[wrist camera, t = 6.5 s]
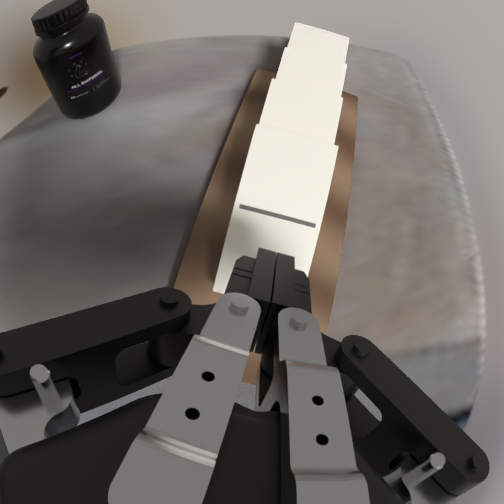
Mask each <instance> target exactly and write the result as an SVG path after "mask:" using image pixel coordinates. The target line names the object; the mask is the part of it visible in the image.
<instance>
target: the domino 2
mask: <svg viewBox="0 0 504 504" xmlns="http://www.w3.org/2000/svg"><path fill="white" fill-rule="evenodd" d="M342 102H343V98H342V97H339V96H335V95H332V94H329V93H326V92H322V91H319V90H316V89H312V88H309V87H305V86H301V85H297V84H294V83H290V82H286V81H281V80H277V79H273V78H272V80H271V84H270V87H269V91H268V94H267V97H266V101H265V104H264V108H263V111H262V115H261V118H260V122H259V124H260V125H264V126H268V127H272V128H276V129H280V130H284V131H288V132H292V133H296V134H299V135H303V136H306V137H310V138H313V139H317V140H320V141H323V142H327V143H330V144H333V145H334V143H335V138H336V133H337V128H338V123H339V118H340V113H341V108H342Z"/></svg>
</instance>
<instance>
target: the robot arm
mask: <svg viewBox="0 0 504 504" xmlns="http://www.w3.org/2000/svg"><path fill="white" fill-rule="evenodd" d="M143 342H144V343H143ZM140 343H141V344H140ZM138 344H139V345H138ZM135 345H136V346H135ZM255 345H256V347H255ZM132 346H133V347H132ZM254 347H255V353H257V354H262V355H261V361H260V364H259V366H258V369H257V375H256V395H255V411H253V410H250V409H248V408H246V407H244V406H242V405H240V404H237V403H235V399H236V396H237V392H238V389H239V386H240V383H241V379H242V376H243V373H244V370H245V366H246V363H247V360H248V356H249V353H250V352H253V350H254ZM127 348H128V349H127ZM124 349H125V350H124ZM170 376H172V377H171V379H170V381H169V383H168V385H167V387H166V388H165V390H164V392H163V394H154V395H149V396H146V397H142V398H139V399H137V400H134V401H132V402H130V403H128V404H126V405H124V406H122V407H119V408H117V409H115V410H113V411H111V412H108V413H106V414H104V415H102V416H99V417H97V418H95V419H93V420H90V421H88V422H86V423H83V424H81V425H78V426H76V425H77V424H78V422H79V419H80V414H81V413H83V412H86V411H89V410H91V409H94V408H96V407H99V406H102V405H104V404H107V403H109V402H112V401H114V400H117V399H119V398H121V397H124V396H126V395H129V394H131V393H133V392H136V391H138V390H140V389H143V388H145V387H147V386H150V385H152V384H154V383H156V382H159V381H161V380H163V379H165V378H168V377H170ZM358 389H360V390H361V391H362V392H363V393H364V394H365V395H366V396H367V397H368V398H369V399H370V400H371V401H372V402H373V403H374V404H375V405H376V406H377V408H378V409H379V410H380V411H381V414H382V421H381V422H380V421H378V420H377V419H376V418H375V417H374V416H373V415H372V414H371V413H370V412H369V411H368V410H367V408H366V407H365V406H364V405H363V404H362V403H361V402H360V401H359V400H358V399H357V398H356V397H355V396H354V394H355V393H356V391H357V390H358ZM0 428H1V431H2V434H3V437H4V440H5V443H6V446H7V449H8V451H9V455H8V456H7V457H6V458H5V459H4V461H3V462H2V463H1V465H0V504H453V503H454V501H455V500H456V498H457V497H458V496H460V495H461V494H463V493H465V492H467V491H468V490H470V489H471V488H473V487H475V486H476V485H478V484H479V483H481V482H482V481H484V479H486V477H487V476H488V473H489V461H488V458H487V456H486V454H485V453H484V451H483V450H482V449H481V448H480V447H479V446H478V445H477V444H476V443H475V442H474V441H473V440H472V439H471V438H470V437H469V436H468V435H467V434H466V433H465V432H464V431H463V430H462V429H461V428H460V427H459V426H458V425H457V424H456V423H455V422H454V421H453V420H452V419H451V418H450V417H449V416H448V415H447V414H445V413H444V412H443V411H442V410H441V409H440V408H439V407H438V406H437V405H436V404H435V403H434V402H433V401H432V400H431V399H430V398H429V397H428V396H427V395H426V394H425V393H424V392H423V391H422V390H421V389H420V388H419V387H418V386H417V385H416V384H415V383H414V382H413V381H412V380H411V379H410V378H409V377H407V376H406V375H405V374H404V373H403V372H402V371H401V370H400V369H399V368H398V367H397V366H396V365H395V364H394V363H393V362H392V361H391V360H390V359H389V358H388V357H387V356H386V355H385V354H384V353H382V352H381V351H380V350H379V349H378V348H377V347H376V346H375V345H374V344H373V343H372V342H371V341H369V340H368V339H366V338H364V337H361V336H357V335H349V336H346V337H345V338H344V339H343V340H342V342H339V341H337V340H334V339H332V338H330V337H328V336H326V335H325V334H323V333H322V332H321V331H320V325H319V322H318V320H317V319H316V318H315V317H314V316H313V315H312V309H311V295H310V282H309V278H308V277H307V275H306V274H305V272H304V271H300V270H297V269H295V257H293V256H290V255H286V254H282V253H279V252H277V254H276V252H275V251H271V250H267V249H264V248H260V247H259V249H258V252H257V256H256V259H255V258H252V257H248V256H244V255H243V256H242V257H240V258H238V259H237V260H236V262H235V265H234V268H233V270H232V273H231V276H230V279H229V281H228V284H227V287H226V290H225V293H224V295H222V296H220V297H219V299H218V300H217V302H216V303H213V304H209V305H195V304H192V301H191V299H190V297H189V296H188V295H187V294H186V293H184V292H183V291H181V290H178V289H175V288H169V287H164V288H158V289H154V290H151V291H147V292H144V293H140V294H137V295H133V296H130V297H126V298H123V299H120V300H116V301H113V302H109V303H106V304H102V305H99V306H95V307H92V308H88V309H85V310H81V311H78V312H74V313H70V314H67V315H63V316H60V317H56V318H53V319H49V320H46V321H42V322H38V323H35V324H31V325H28V326H24V327H21V328H17V329H13V330H10V331H6V332H2V333H0Z"/></svg>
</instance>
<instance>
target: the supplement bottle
mask: <svg viewBox="0 0 504 504" xmlns="http://www.w3.org/2000/svg"><path fill="white" fill-rule="evenodd" d="M88 11H89V6H88V4H87V1H86V0H53V1H52V2H50V3H48V4H46V5H45V6H44V7H42V8H41V9H39V10H38V11H37V12H36V13H35V14H34V15H33V16H32V18H31V20H32V23H33V26H34V29H35V33H36V35H37V36H39V39H38V40H37V42H36V44H35V46H34V51H33V55H34V59H35V61H36V63H37V66H38V68H39V70H40V72H41V74H42V76H43V78H44V80H45V82H46V84H47V86H48V88H49V90H50V92H51V94H52V96H53V98H54V100H55V102H56V103H57V105H58V107H59V109H60V111H61V112H62V114H63V115H64V116H66V117H68V118H71V119H83V118H87V117H90V116H92V115H95V114H97V113H99V112H100V111H102V110H103V109H105V108H106V107H107V106H108V105H110V104H111V103H112V101H113V100H114V99H115V98H116V96H117V94H118V92H119V89H120V80H119V76H118V72H117V69H116V65H115V62H114V58H113V54H112V51H111V47H110V43H109V40H108V35H107V32H106V28H105V24H104V21H103V19H102V18H101V17H100V16H98V15H97V14H94V13H88Z"/></svg>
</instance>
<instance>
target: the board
mask: <svg viewBox="0 0 504 504" xmlns="http://www.w3.org/2000/svg"><path fill="white" fill-rule="evenodd" d="M276 75H277V72H273V71H268V70H264V69H259V68H257V70H256V73H255V75H254V77H253V79H252V81H251V84H250V86H249V88H248V90H247V93H246V95H245V97H244V100H243V102H242V104H241V107H240V109H239V111H238V114H237V116H236V118H235V121H234V123H233V125H232V128H231V130H230V133H229V135H228V138H227V140H226V143H225V145H224V148H223V150H222V153H221V155H220V158H219V160H218V163H217V165H216V168H215V170H214V173H213V176H212V178H211V181H210V184H209V186H208V189H207V192H206V194H205V197H204V200H203V202H202V205H201V208H200V211H199V213H198V216H197V219H196V222H195V225H194V227H193V230H192V233H191V236H190V239H189V242H188V245H187V248H186V251H185V254H184V257H183V260H182V263H181V266H180V269H179V272H178V275H177V278H176V281H175V284H174V288H175V289H178V290H181V291H183V292H184V293H186V294H187V295H188V296H189V297H190V299H191V301H192V304H195V305H209V304H213V303H216V302H217V300H218V299H219V297H220V296H222V295H224V294H222V293H218V292H214V291H213V287H214V283H215V279H216V275H217V271H218V267H219V263H220V259H221V255H222V251H223V247H224V243H225V239H226V235H227V231H228V227H229V223H230V219H231V215H232V212H233V208H234V204H235V200H236V196H237V193H238V189H239V185H240V181H241V178H242V174H243V170H244V166H245V163H246V159H247V156H248V152H249V148H250V145H251V141H252V137H253V134H254V130H255V127H256V124H259V122H260V118H261V115H262V111H263V108H264V104H265V101H266V97H267V94H268V91H269V87H270V84H271V80H272V78H273V79H276ZM341 97H342V98H343V102H342V108H341V113H340V118H339V123H338V128H337V133H336V138H335V143H334V145H336V146H339V147H338V152H337V157H336V162H335V166H334V171H333V176H332V180H331V185H330V189H329V194H328V198H327V202H326V207H325V211H324V215H323V219H322V223H321V227H320V231H319V235H318V239H317V243H316V247H315V251H314V255H313V259H312V262H311V266H310V270H309V274H308V278H309V282H310V295H311V309H312V315H313V316H314V317H315V318H316V319H317V320H318V322H319V325H320V331H321V332H322V333H323V334H325V335H326V332H327V328H328V323H329V318H330V314H331V309H332V304H333V299H334V293H335V288H336V283H337V277H338V272H339V266H340V260H341V254H342V248H343V241H344V234H345V228H346V220H347V213H348V205H349V197H350V189H351V180H352V170H353V160H354V148H355V135H356V121H357V102H358V97H357V96H354V95H351V94H349V93H346V92H343V91H342V94H341ZM255 347H256V345H255ZM255 347H254V350H253V352H250V353H249V356H248V360H247V363H246V366H245V370H244V373H243V376H242V379H241V381H242V382H246V383H250V384H255V385H256V375H257V369H258V366H259V364H260V361H261V355H262V354H257V353H255Z"/></svg>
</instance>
